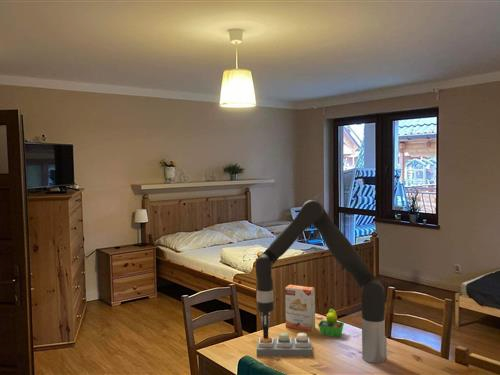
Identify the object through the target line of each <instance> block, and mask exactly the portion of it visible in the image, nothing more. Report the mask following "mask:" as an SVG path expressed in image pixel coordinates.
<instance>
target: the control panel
mask: <svg viewBox="0 0 500 375" xmlns="http://www.w3.org/2000/svg"><path fill="white" fill-rule="evenodd" d="M256 343H257V344H256V357H313V346H312V340H311V338H309V337H307V340H306V341H299V340H297V337H294V338H292V337H289V340H287V341H281V340H279V337H277V338H274V337H271V343H261V337H259V338H257V342H256Z"/></svg>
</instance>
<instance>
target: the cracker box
mask: <svg viewBox="0 0 500 375" xmlns="http://www.w3.org/2000/svg"><path fill="white" fill-rule="evenodd" d="M284 290H285V291H284V292H285V294H284V296H285V300H284V302H285V327H286V328H291V329H295V328H296V330H301V331H308V332H312V331H314V329H315V328H316V299H315V298H316V290H315V287H313V286H305V285H295V284H288V285H287V286H285V288H284Z"/></svg>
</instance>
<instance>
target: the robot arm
mask: <svg viewBox="0 0 500 375" xmlns="http://www.w3.org/2000/svg"><path fill="white" fill-rule="evenodd" d="M311 225H313V226H314V227H315V228H316V230H317V231H318V232H319V234H320V236H321V238H322V239H323V242H324V244H325V246H326V248H327V249H328V251H329V252H330V254H331V255H332V256H333V257H334V259H335V260H336V261H337V263H338V264H339V265H340V266H341V267H342V268H343V269H345V270H346V271H347V273H349V274H350V275H351V276H352V277H353V279H354V280H355V281H356V283H357V285H358V287H359V288H360V290H361V294H360V295H361V343H362V344H361V346H362V347H361V351H362V352H361V354H362V355H361V356H362V360H363V361H365V362H368V363H373V364H377V363H378V364H379V363H383V362H384V361H386V360H387V358H388V357H387V356H388V355H387V354H388V353H387V352H388V349H387V346H388V345H387V342H388V341H387V335H385V334H386V333H385V331H386V330H385V327H386V326H385V321H386V320H385V319H386V318H385V313H386V310H385V309H386V307H385V306H386V305H385V304H386V302H385V301H386V300H385V298H386V297H385V296H386V295H385V294H386V293H385V287H384V284H382V282H381V281H380V280H379V279H378V278H377V276H376V275H374V273H373V272H372V271H370V269H369V268H368V267H367V265H366V263H365V262H364V260H363V259H362V257H361V256H360V254H359V253H358V251H357V250H356V248H355V247H354V246H353V244H352V243H351V242H350V241H349V240H348V238H347V237H346V236H345V234H344V233H343V232H342V231H341V229H339V228H338V227H337V225H336V224H335V223H334V222H333V221H332V219H331V217H330V216H329V214H328V213H327V211H326V209H325V208H324V206H323V204H322V203H321V202H320V201H319V200H317V199H309V200H306V201H305V202H304V203H303V205H302V206H301V208H300V210H299V212H298V213H297V215H296V216H295V217H294V219H293V220H292V222H291V223H289V225H288V226H287V227H286V228H284V229H283V231H282V232H280V233H279V235H278V236H277V237H276V238H275V239H274V240H273V242H271V243H270V245H269V247H267V248H266V249H265V251H263V252H262V254H260V255H259V256H258V257H257V259H256V260H255V273H256V311H257V312H260V320H261V326H262V334H263V336H262V337H263V338H268V336H269V330H270V329H269V326H270V322H271V321H270V319H271V313H270V312H273V311H274V309H275V308H274V307H275V305H274V304H275V300H274V299H275V298H274V296H275V295H274V283H273V282H274V281H273V277H272V267H273V265H274V264H275V263H277V261H278V260H279V258H280V257H282V256H283V255H284V254H286V252H288V250H289V249H290V248H291V247H292V245H294V243H295V241H297V239H298V238H299V237H300V236H301V234H303V232H304V231H305V230H307V229H308V228H309V227H310V226H311Z"/></svg>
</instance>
